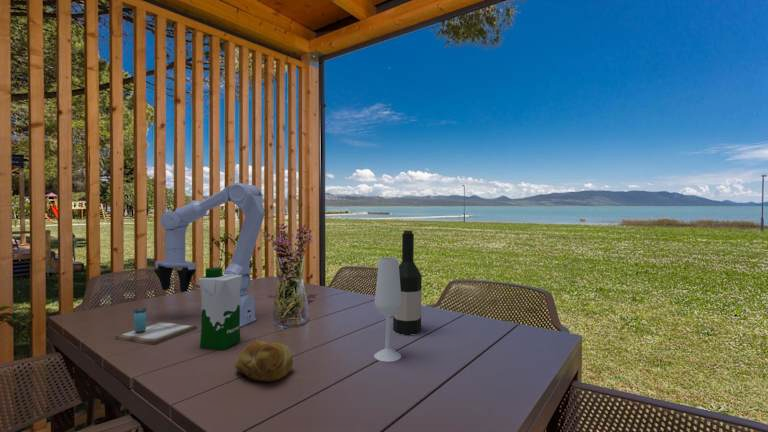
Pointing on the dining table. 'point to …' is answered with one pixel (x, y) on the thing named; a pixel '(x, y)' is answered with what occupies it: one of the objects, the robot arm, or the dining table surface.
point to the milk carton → (220, 309)
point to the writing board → (157, 333)
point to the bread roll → (265, 361)
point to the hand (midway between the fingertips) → (175, 290)
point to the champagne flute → (388, 301)
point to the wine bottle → (408, 290)
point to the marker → (139, 320)
